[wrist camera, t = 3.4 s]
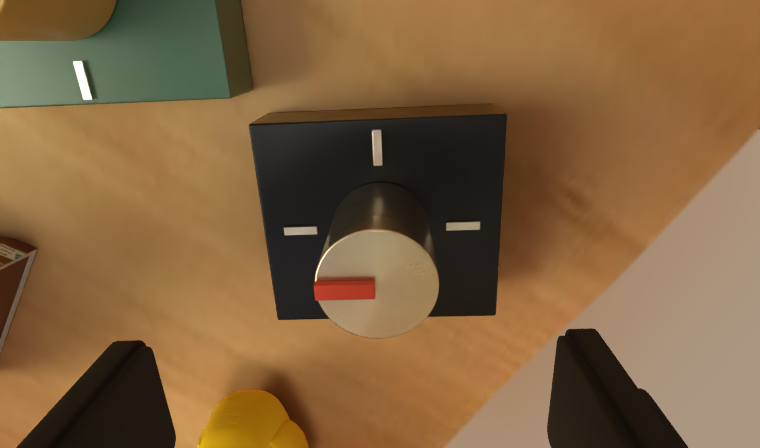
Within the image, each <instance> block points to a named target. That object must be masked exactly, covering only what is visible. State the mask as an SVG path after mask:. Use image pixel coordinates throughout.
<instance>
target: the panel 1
mask: <svg viewBox="0 0 760 448" xmlns="http://www.w3.org/2000/svg"><path fill="white" fill-rule="evenodd" d="M251 90H253V86H252V79H251V72H250V65H249V58H248V51H247V43H246V36H245V29H244V22H243V15H242V8H241V1H240V0H116V5H115V8H114V11H113V13H112V15H111V17H110V19H109V20H108V22H107V23H106V24H105V26H104V27H103V28H102V29H101V30H100V31H98V32H97V33H95V34H94V35H92V36H90V37H88V38H85V39H81V40H75V41H0V108H17V107H41V106H64V105H87V104H110V103H133V102H156V101H179V100H203V99H226V98H232V97H235V96H238V95H240V94H243V93H246V92H249V91H251Z"/></svg>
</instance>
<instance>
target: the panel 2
mask: <svg viewBox="0 0 760 448" xmlns="http://www.w3.org/2000/svg"><path fill="white" fill-rule="evenodd" d="M506 124H507V114H506V113H504V112H503V111H501V110H500V109H498V108H497V107H495V106H494V105H493V104H472V105H448V106H423V107H399V108H375V109H351V110H327V111H303V112H279V113H268V114H266V115H265V116H263V117H261V118H260V119H258V120H256V121H254V122H253V123H251V124H249V129H250V136H251V143H252V150H253V156H254V163H255V170H256V176H257V183H258V190H259V196H260V203H261V210H262V216H263V223H264V230H265V237H266V243H267V250H268V257H269V263H270V270H271V277H272V283H273V290H274V297H275V303H276V310H277V317H278V320H291V319H330V318H329V317H328V316H327V315H326V314H325V312H324V311H323V309H322V307H321V305H320V303H319V302H318V301H316V300H315V294H314V284H315V273H316V269H317V266H318V263H319V260H320V257H321V254H322V251H323V248H324V245H325V243H326V240H327V237H328V234H329V231H330V228H331V225H332V222H333V219H334V216H335V213H336V211H337V209H338V207H339V205H340V203H341V202H342V201H343V199H344V198H345V197H346V196H347V195H348V194H349V193H351V192H352V191H353V190H355V189H357V188H359V187H361V186H364V185H366V184H371V183H379V182H380V183H391V184H395V185H398V186H401V187H403V188H405V189H407V190H408V191H410V192H411V193H412V194H414V195H415V196H416V197H417V198H418V199H419V201H420V202H421V203H422V205H423V207H424V208H425V210H426V213H427V216H428V220H429V226H430V231H431V237H432V243H433V248H434V254H435V260H436V265H437V271H438V276H439V293H438V297H437V300H436V303H435V305H434V307H433V309H432V311H431V312H430V314H429V315H428V316H427V317H439V316H488V315H495V314H496V302H497V284H498V266H499V249H500V231H501V213H502V195H503V177H504V160H505V142H506Z"/></svg>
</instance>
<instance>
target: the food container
mask: <svg viewBox="0 0 760 448" xmlns="http://www.w3.org/2000/svg"><path fill="white" fill-rule="evenodd" d="M36 252H37V248H35V247H33V246H30V245H28V244H25V243H23V242H21V241H18V240H16V239H11V238H6V237H0V353H1V350H2V347H3V345H4V342H5V339H6V336H7V333H8V330H9V328H10V325H11V322H12V319H13V316H14V314H15V311H16V308H17V305H18V302H19V300H20V297H21V294H22V291H23V288H24V286H25V283H26V280H27V277H28V274H29V271H30V269H31V266H32V263H33V260H34V257H35V255H36Z"/></svg>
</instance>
